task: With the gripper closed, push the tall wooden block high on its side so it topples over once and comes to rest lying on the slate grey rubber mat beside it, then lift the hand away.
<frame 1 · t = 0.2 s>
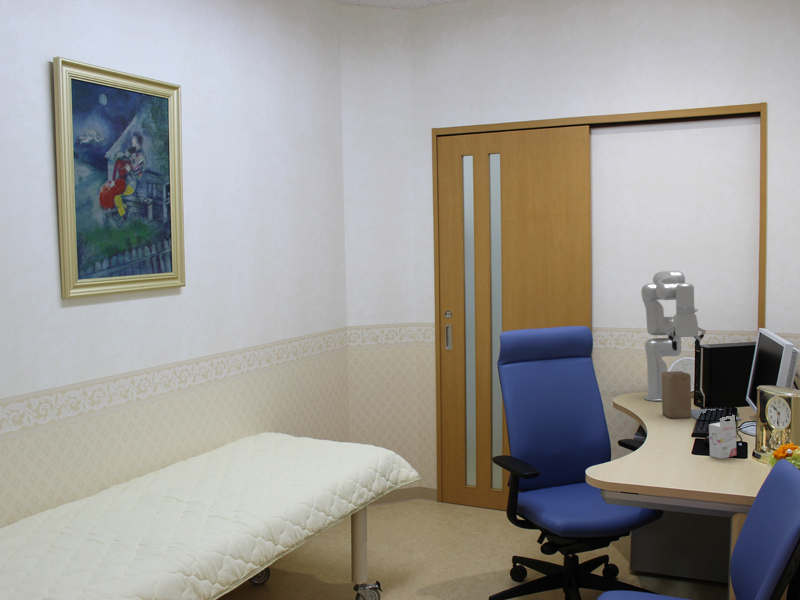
hand: (685, 349, 299), 31 cm above the table, tool pointing down, fingers open, 9 cm apart
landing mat: (710, 415, 304), on the table
ink cartridge box: (722, 456, 239), on the table
wooden block: (676, 416, 305), on the table
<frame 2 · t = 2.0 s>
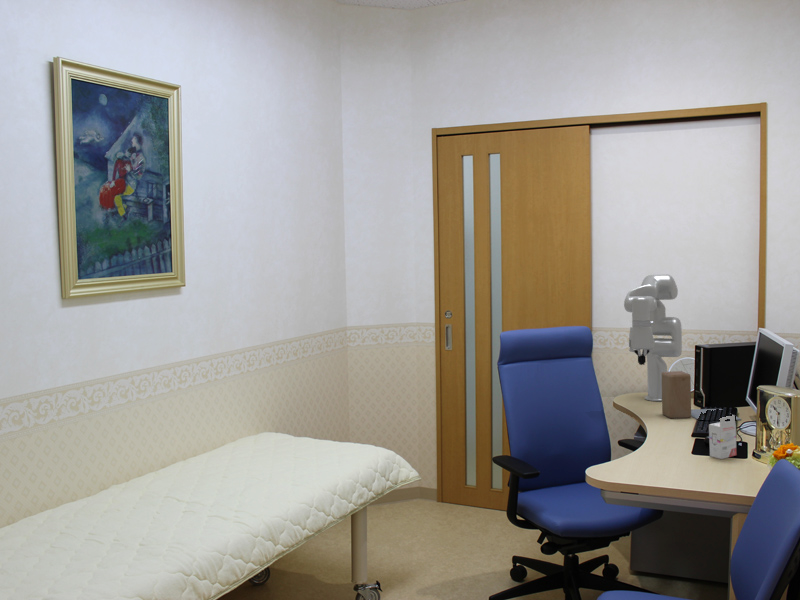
hand: (641, 364, 305), 24 cm above the table, tool pointing down, fingers closed
nothing on the table moved.
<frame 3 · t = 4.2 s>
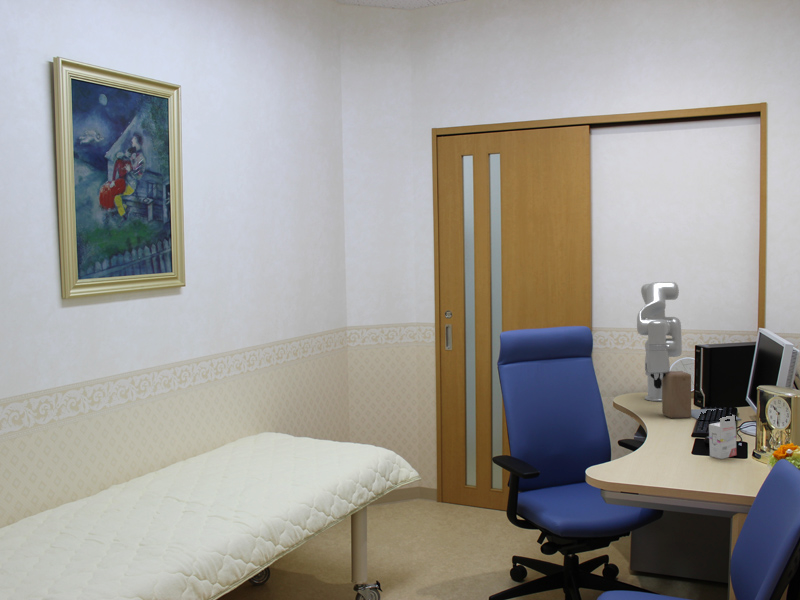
hand: (657, 387, 305), 13 cm above the table, tool pointing down, fingers closed
nothing on the table moved.
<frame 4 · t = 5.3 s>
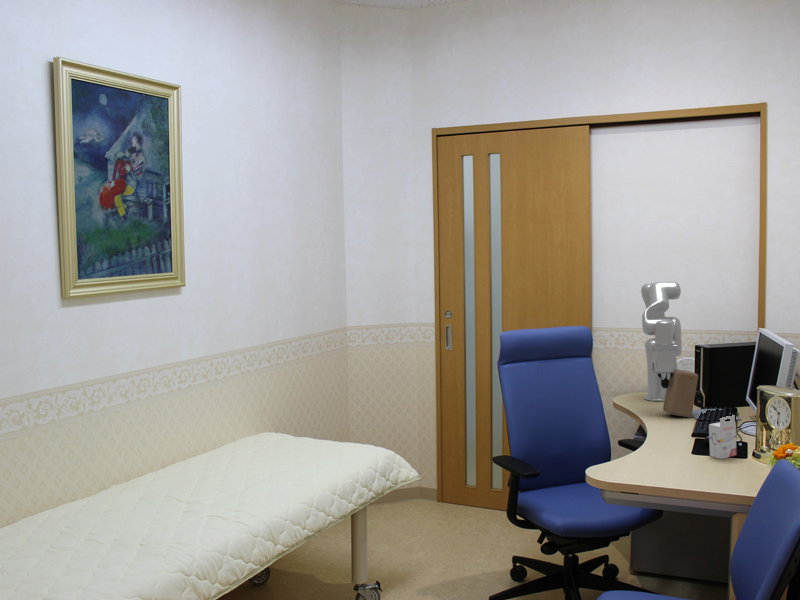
hand: (665, 387, 305), 13 cm above the table, tool pointing down, fingers closed
wooden block: (676, 414, 305), point 1 cm above the table, touching gripper
everything else where it was.
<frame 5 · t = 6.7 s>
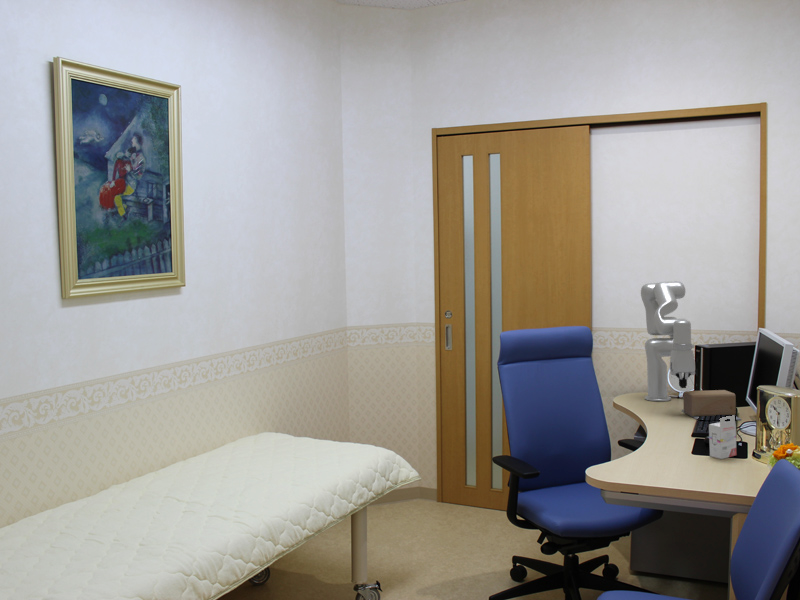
hand: (683, 387, 304), 13 cm above the table, tool pointing down, fingers closed
wooden block: (686, 403, 305), point 6 cm above the table, touching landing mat
everything else where it was.
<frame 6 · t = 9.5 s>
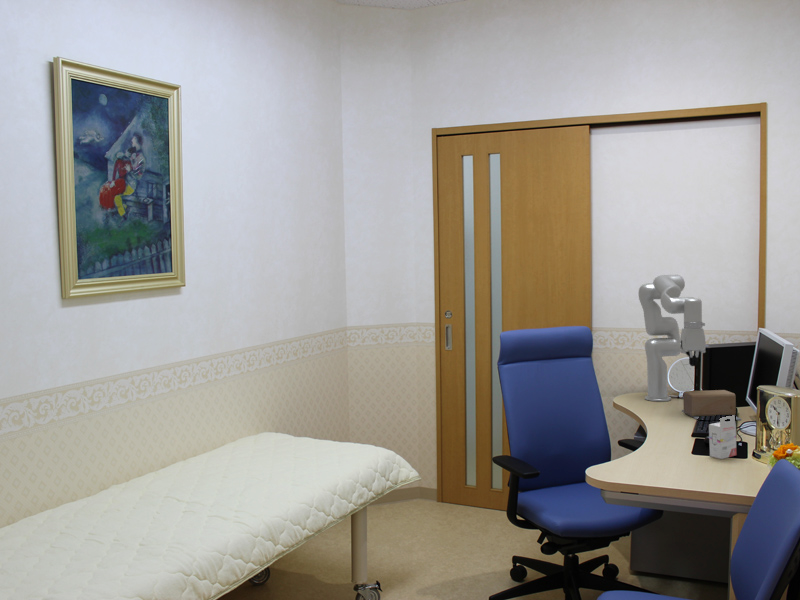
hand: (693, 365, 304), 23 cm above the table, tool pointing down, fingers closed
nothing on the table moved.
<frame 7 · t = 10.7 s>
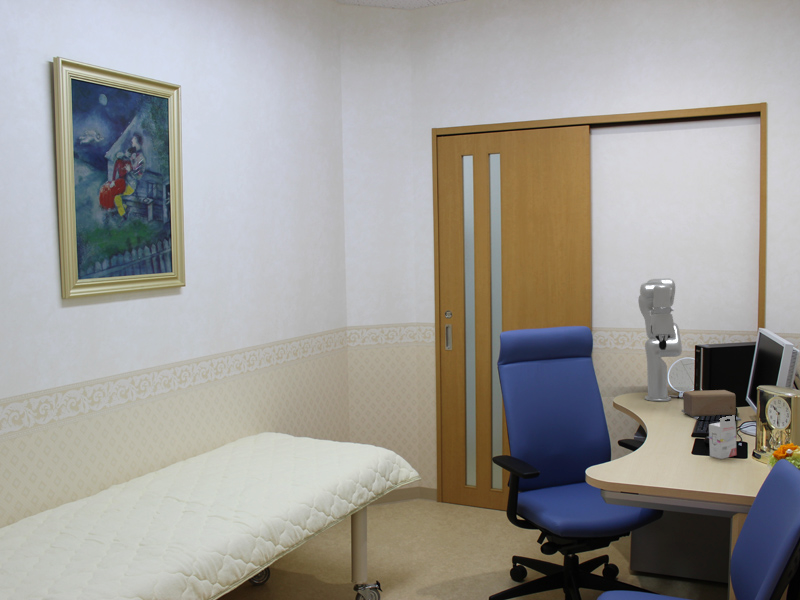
hand: (662, 349, 319), 29 cm above the table, tool pointing down, fingers closed
nothing on the table moved.
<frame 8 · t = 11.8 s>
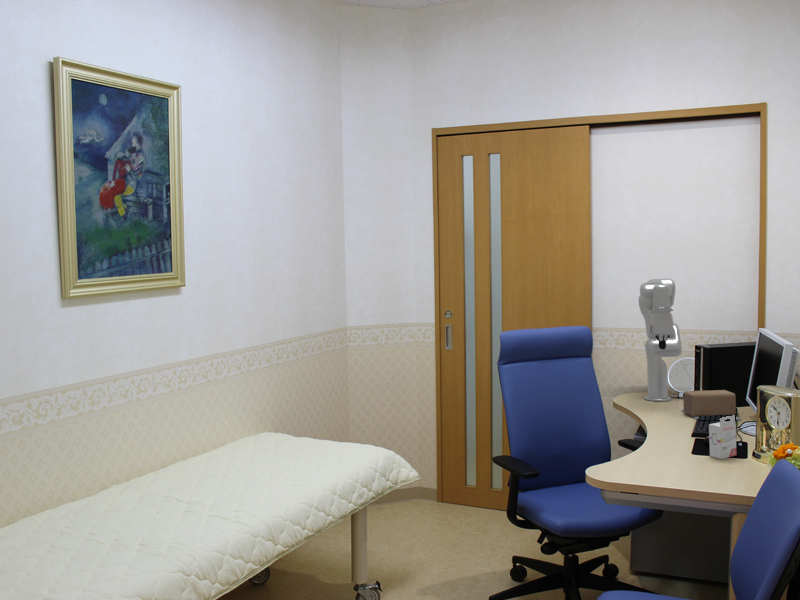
hand: (662, 349, 319), 29 cm above the table, tool pointing down, fingers closed
nothing on the table moved.
at the end: wooden block tilted 90°; wooden block touching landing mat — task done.
